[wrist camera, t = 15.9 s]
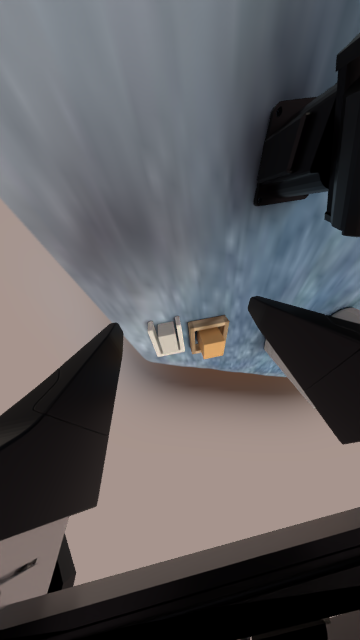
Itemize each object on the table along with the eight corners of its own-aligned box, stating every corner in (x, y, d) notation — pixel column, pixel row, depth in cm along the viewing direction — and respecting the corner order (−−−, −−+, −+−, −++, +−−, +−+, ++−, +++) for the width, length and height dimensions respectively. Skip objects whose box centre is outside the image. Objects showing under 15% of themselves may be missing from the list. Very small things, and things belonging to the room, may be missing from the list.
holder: (224, 315, 25) (229, 321, 24) (220, 341, 31) (224, 347, 29) (187, 322, 25) (190, 329, 24) (190, 347, 30) (192, 354, 29)
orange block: (215, 322, 27) (225, 340, 23) (214, 337, 29) (223, 355, 26) (196, 326, 26) (203, 345, 23) (197, 340, 29) (203, 359, 25)
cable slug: (173, 320, 25) (175, 333, 22) (176, 338, 28) (178, 351, 25) (157, 323, 24) (158, 337, 22) (162, 340, 28) (163, 353, 25)
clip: (178, 316, 24) (180, 324, 22) (182, 342, 29) (184, 351, 27) (148, 321, 24) (147, 331, 22) (157, 347, 29) (158, 356, 27)
